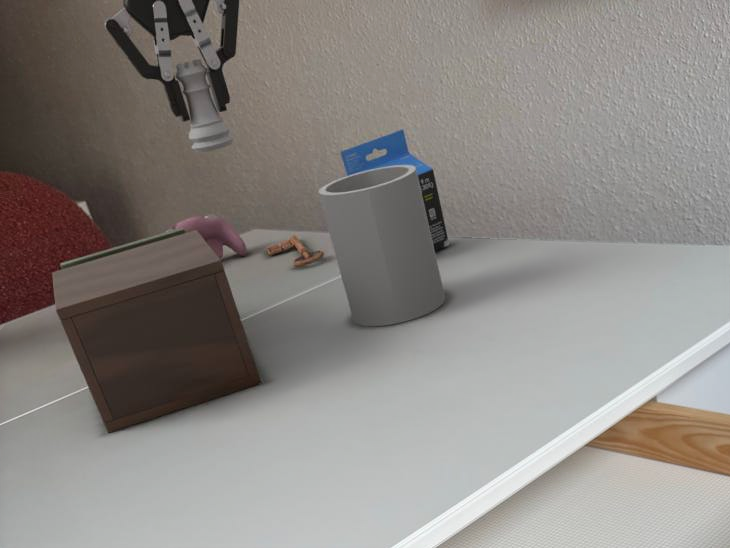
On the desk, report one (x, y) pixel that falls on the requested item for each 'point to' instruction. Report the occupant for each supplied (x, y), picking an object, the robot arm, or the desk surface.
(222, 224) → the video game controller
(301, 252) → the key
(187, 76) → the white chess rook
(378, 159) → the tape cartridge
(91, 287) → the cabinet
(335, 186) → the cup
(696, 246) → the desk surface
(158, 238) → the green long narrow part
